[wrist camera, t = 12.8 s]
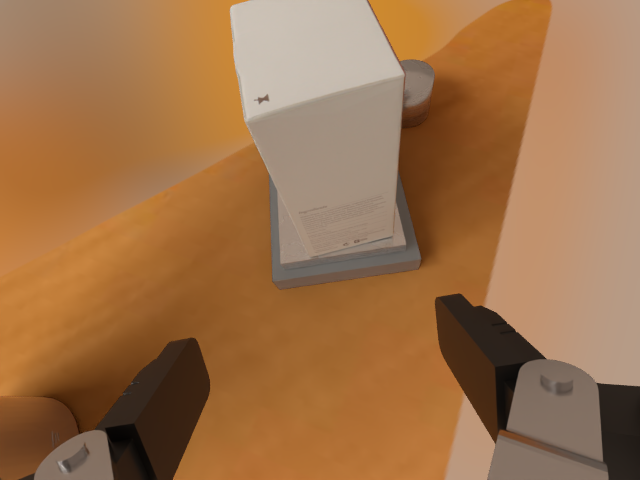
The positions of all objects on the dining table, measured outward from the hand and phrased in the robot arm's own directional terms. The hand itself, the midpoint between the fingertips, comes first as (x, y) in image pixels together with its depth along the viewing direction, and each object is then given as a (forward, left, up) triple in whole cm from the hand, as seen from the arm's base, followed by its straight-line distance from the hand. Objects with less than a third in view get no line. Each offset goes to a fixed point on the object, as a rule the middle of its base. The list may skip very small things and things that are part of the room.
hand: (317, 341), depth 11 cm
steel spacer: (+9, +23, -14) cm, 28 cm away
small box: (+1, +12, -10) cm, 16 cm away
